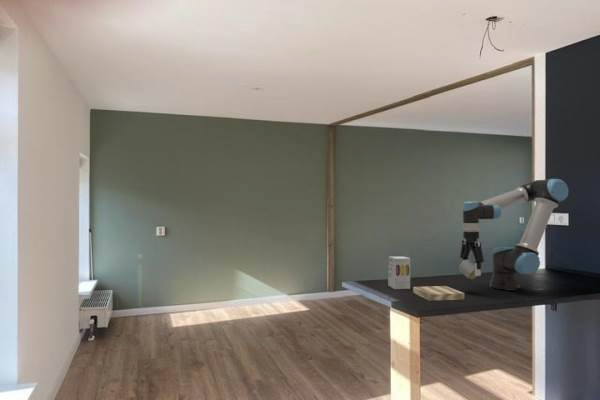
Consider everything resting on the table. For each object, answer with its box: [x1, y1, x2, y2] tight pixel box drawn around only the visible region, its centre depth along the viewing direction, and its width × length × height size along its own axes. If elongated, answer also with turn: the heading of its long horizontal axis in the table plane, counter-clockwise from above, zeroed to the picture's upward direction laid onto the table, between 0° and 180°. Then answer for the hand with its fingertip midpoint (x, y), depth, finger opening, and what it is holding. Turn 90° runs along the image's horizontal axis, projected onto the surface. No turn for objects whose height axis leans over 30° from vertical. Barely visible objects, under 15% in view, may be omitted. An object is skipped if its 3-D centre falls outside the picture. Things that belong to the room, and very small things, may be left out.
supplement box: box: [387, 255, 411, 290], centre depth 229 cm, size 10×9×17 cm
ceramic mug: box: [458, 258, 478, 280], centre depth 214 cm, size 11×8×8 cm
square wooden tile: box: [412, 285, 465, 302], centre depth 208 cm, size 18×18×3 cm
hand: (471, 273), depth 214 cm, fingers closed on ceramic mug, 10 cm apart
